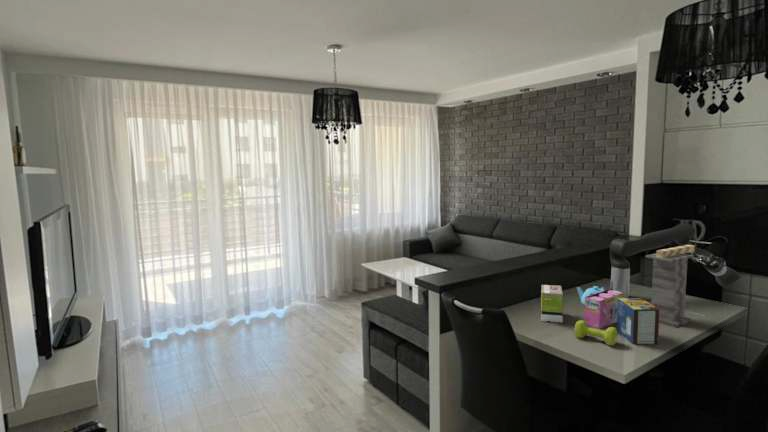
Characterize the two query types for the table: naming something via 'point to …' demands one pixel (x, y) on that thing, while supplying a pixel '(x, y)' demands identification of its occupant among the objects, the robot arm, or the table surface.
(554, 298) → the tea box
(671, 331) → the table surface
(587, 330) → the dumbbell
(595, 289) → the teapot
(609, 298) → the gum box
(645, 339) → the protein box
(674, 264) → the pedestal shelf
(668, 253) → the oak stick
